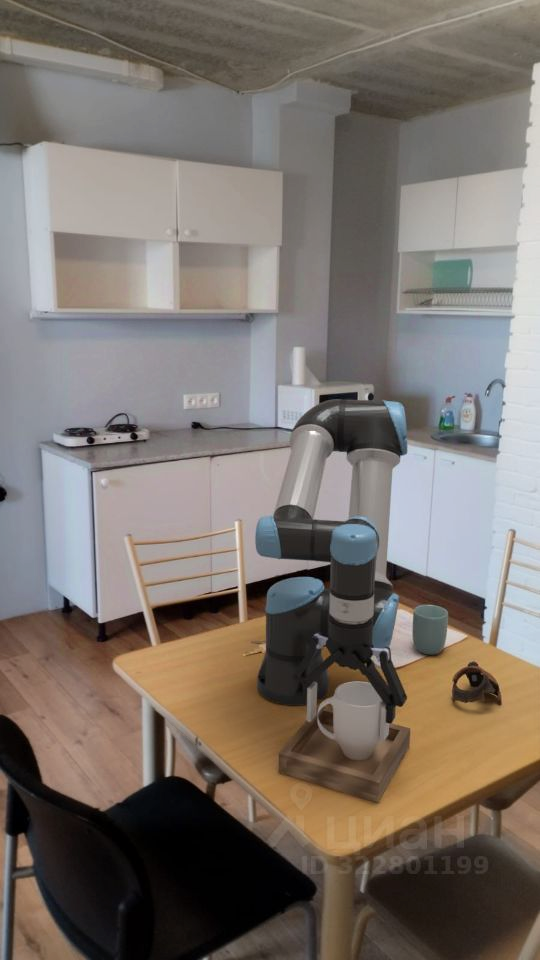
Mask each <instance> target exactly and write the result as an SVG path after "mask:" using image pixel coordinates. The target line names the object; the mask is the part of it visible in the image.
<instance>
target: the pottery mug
mask: <svg viewBox="0 0 540 960" xmlns="http://www.w3.org/2000/svg"><path fill="white" fill-rule="evenodd" d="M464 675H465V676H466V678H467V679H468V683H469V685H470V688H473V689H469V690H464V689H461V688H459V686H458V685H457V684H458V681H459V680H460V678H461V677H463V676H464ZM452 682H453V684H452V689H451V694H452V699H453V701H457V702H461V703H464V704H467V703H468V702H469V703H475V702H482V703H485V695H484V693H485V694H492V695H493V696H496V697H497V698H498V704H499V705H501V706H502V704H503V701H502V693H501V690H500V686H499V685H500V684H499V683H498V681H497V679H496V678H495V677H494V676H493V675H492V674H491V673H490V672H488V671H486V670H484V668H482V667H481V666H479V664H478V663H477V662H476V661H474V660H472V661H470V662H468V664H467V666H465V667H463V668H461V669H459V670H458V671H457V672H455V674H454V675H453V677H452Z"/></svg>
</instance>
